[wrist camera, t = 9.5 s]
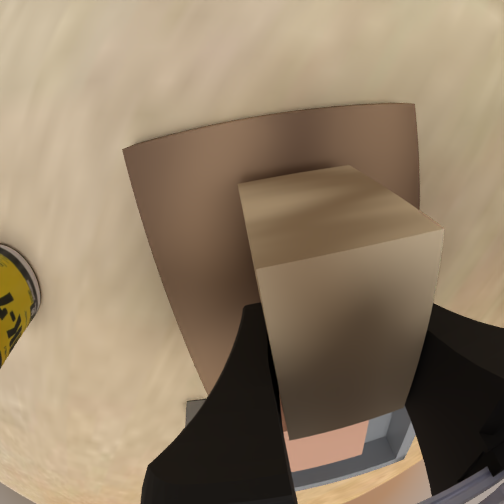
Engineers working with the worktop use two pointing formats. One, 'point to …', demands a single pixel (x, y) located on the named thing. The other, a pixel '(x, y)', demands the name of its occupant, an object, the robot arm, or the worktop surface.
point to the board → (230, 208)
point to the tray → (373, 456)
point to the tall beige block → (341, 292)
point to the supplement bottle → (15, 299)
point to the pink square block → (324, 446)
